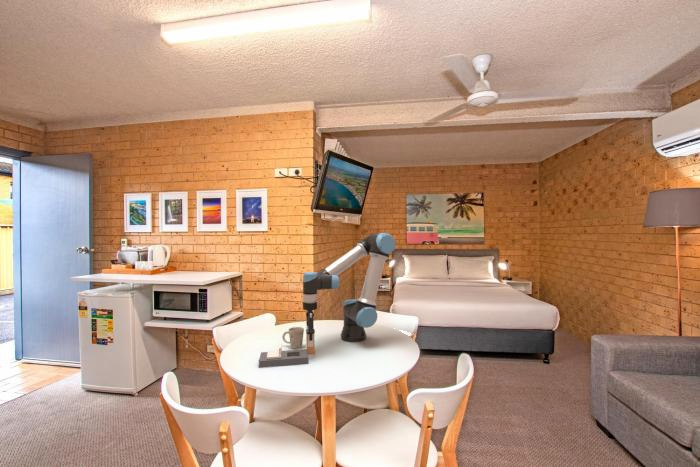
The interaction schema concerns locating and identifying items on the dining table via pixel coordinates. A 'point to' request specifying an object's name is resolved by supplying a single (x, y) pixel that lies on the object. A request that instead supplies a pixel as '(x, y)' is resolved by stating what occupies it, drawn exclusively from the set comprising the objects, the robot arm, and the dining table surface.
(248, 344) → the dining table surface
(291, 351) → the socket
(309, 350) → the plug
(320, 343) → the dining table surface
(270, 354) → the panel
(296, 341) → the mug
